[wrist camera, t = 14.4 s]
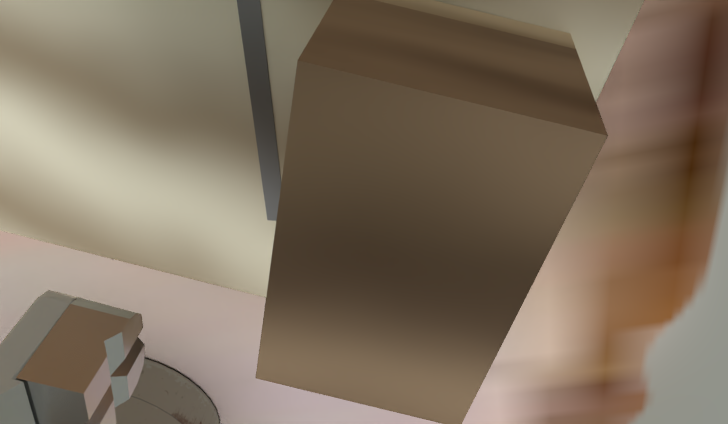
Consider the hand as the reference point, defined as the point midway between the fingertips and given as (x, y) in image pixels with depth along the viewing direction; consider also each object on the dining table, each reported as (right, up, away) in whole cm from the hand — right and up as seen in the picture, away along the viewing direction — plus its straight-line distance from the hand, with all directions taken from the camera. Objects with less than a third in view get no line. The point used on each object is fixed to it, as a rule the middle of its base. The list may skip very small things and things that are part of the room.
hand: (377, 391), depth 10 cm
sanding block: (+1, +4, +7) cm, 8 cm away
